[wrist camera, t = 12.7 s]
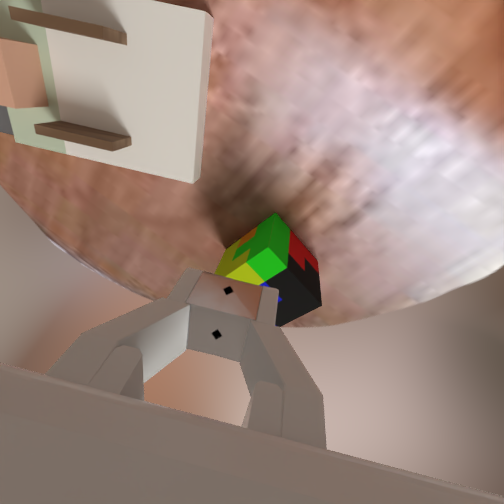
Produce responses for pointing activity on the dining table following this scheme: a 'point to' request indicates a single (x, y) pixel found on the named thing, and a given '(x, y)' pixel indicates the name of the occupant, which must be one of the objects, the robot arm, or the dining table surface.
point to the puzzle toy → (276, 267)
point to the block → (21, 75)
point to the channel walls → (63, 128)
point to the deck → (121, 82)
